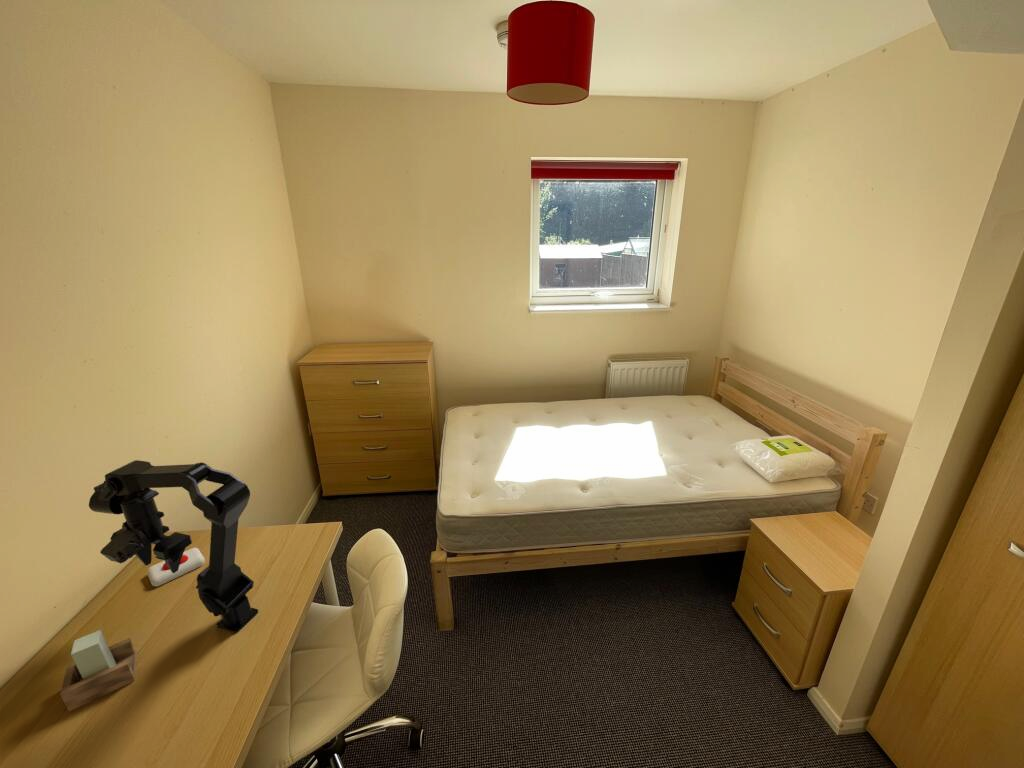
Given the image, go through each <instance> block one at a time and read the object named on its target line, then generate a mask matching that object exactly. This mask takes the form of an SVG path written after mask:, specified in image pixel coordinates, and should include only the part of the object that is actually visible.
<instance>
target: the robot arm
mask: <svg viewBox="0 0 1024 768" xmlns="http://www.w3.org/2000/svg"><path fill="white" fill-rule="evenodd" d="M104 479H105V480H104V481H103V483H100V484H98V485H95V486H94V487H93V491H94V492H93V493H92V495H91V496H90V498H89V501H88V507H89V509H90V510H91V511H92V512H95V513H100V514H101V513H102V514H110V515H112V514H113V515H122V514H123V517H124V519H125V521H124V522H123V523H122V524H121V528H120V529H118V530H117V531H115V532H113V533H112V534H111V537H110V538H109V539H110V541H109V542H108V543H107V544H106V545H105V546H103V548H101V550H100V552H99V553H100V554H101V555H103V556H104V557H105V558H107V559H108V560H109V561H111V562H115V563H119V564H123V563H125V562H127V561H128V560H129V559H131V558H133V557H134V556H135V557H137V559H138V560H140V562H142V563H143V564H144V565H145V566H149V565H151V563H152V557H153V556H152V555H153V554H154V555H155V557H154V558H155V559H158V560H162V561H164V560H165V562H166V564H167V565H168V567H169V569H170V570H171V572H172V573H175V572H177V571H178V569H179V565H180V562H181V559H182V555H183V553H184V552H185V550H186V548H187V547H189V546H190V545H191V544H193V540H192V537H191V535H190V534H186V533H182V532H178V531H177V532H176V531H175V532H173V533H171V534H170V535H166V534H165V533H167V532H169V531H170V527H169V526H166V525H164V523H163V521H162V518H163V517H164V516H165V513H164V512H163V511H160V510H158V506H157V504H156V502H155V498H156V497H157V496H159V494H160V493H159V491H157V490H156V489H162V488H166V489H167V488H183V489H184V490H186V491H187V493H188V495H189V498H190V501H191V503H192V505H193V506H194V507H195V508H197V509H199V511H201V512H203V517H204V518H205V519H206V520H208V521H209V522H210V523H211V524H210V525H211V529H210V543H209V545H210V546H209V559H208V560H209V561H208V562H209V563H208V566H207V567H205V568H204V569H203V570H202V571H201V572H200V573H198V574H197V576H196V582H197V583H196V584H197V585H196V587H195V589H198V590H197V593H198V598H199V600H200V601H201V603H202V604H203V605H204V607H205V608H206V610H207V611H208V612H209V613H212V614H213V616H214V617H218V616H220V618H221V619H220V621H218V622H217V624H216V627H217V628H220V629H222V630H225V631H229V632H232V633H235V634H236V633H238V632H239V631H240V630H241V629H242V628H244V627H245V626H246V624H248V623H249V622H250V621H251V619H252V618H254V617H255V616H256V615H257V614H258V613H259V609H257V608H254V607H251V604H250V601H249V597H248V596H247V594H248V593H249V591H251V590H252V589H253V588H254V584H255V583H254V580H252V579H251V578H250V577H249V576H247V574H245V573H244V572H243V571H242V568H241V566H240V565H238V564H236V562H235V560H236V552H237V551H236V549H237V540H238V528H239V527H238V526H239V519H240V517H241V516H242V514H243V512H244V511H245V510H246V508H247V506H248V504H249V501H250V498H251V491H250V489H249V487H248V485H247V484H246V483H245V482H244V481H243V480H241V479H239V478H238V477H237V476H235V475H234V473H231V472H228V471H224V470H220V469H214V468H212V467H211V466H210V465H208V464H207V463H205V462H196V463H194V464H192V463H191V464H171V465H168V464H167V465H152V464H151V462H150V461H145V460H139V459H138V460H137V459H136V460H133V461H130V462H128V463H126V464H124V465H122V466H121V467H118V468H116V469H114V470H112V471H110V472H108V473H106V474H105V475H104ZM203 481H208V482H210V483H215V484H220V485H222V486H220V487H218V488H217V489H215V490H214V491H212V492H211V493H209V494H207V495H204V494H203V493H201V491H200V487H199V484H200V483H203ZM153 545H154V547H152V546H153ZM152 548H153V549H152Z"/></svg>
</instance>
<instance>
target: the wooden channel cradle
mask: <svg viewBox="0 0 1024 768" xmlns="http://www.w3.org/2000/svg"><path fill="white" fill-rule="evenodd" d="M134 646H135V645H134V644H133V641H132V640H131V638H130V637H128V638H126V639H124V640H121V641H119V642H117V643H115V644H112V645H110V646H108V647H109V649H110V651H111V653H112V655H113V658H114V660H115V662H116V665H115V666H113V667H111V668H109V669H106V670H104V671H102V672H100V673H98V674H95V675H93V676H91V677H89V678H87V679H84V680H83V678H82V676H81V674H80V672H79V670H78V668H77V666H76V664H75V662H74V661H72V662H71V663H68V664H67V665H66V670H65V674H64V677H63V682H62V686H61V690H60V694H59V695H60V697H61V700H62V701H63V703H64V705H65V707H66V709H67V710H68V712H69V713H70V712H72V711H74V710H76V709H78V708H80V707H83V706H84V705H86V704H89V703H91V702H93V701H95V700H97V699H99V698H101V697H103V696H106V695H108V694H109V693H112V692H114V691H116V690H118V689H121V688H122V687H124V686H126V685H128V684H131V683H134V681H135V678H136V677H135V676H136V668H137V666H136V665H137V651H136V649H135V647H134Z"/></svg>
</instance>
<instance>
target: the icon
mask: <svg viewBox="0 0 1024 768" xmlns="http://www.w3.org/2000/svg"><path fill="white" fill-rule="evenodd" d="M205 562H206V560H205V557H204V555H203V554H202V553H201V551H200V549H199V548H197V547H192V548H190V549H188V550H186V551H185V550H184V553H183V555H182V559H181V562H180V565H179V569H178V571H177V572H175V573H172V572H171V570H170V569H169V567H168V565H167V564H166V562H165V560H162V561H160V562H158V563H157V564H153V565H152V566H150V567H148V569H147V572H146V575H147V576H148V579H149V581H150V583H151V586H153V587H160V586H162V585H165V584H166V583H168V582H171V581H172V580H175V579H177V578H179V577H181V576H183V575H185V574H187V573H190V572H192V571H193V570H195V569H199V568H200V567H202V566H203V565H204V564H205Z"/></svg>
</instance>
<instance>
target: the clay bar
mask: <svg viewBox="0 0 1024 768" xmlns="http://www.w3.org/2000/svg"><path fill="white" fill-rule="evenodd" d="M109 647H110V646H109V645H108V643H107V641H106V638H105V636H104V634H103V632H102V629H99V630H97V631H94V632H91V633H89V634H86V635H84V636H82V637H79V638H77V639H75V640H74V641H73V645H72V648H71V653H70V656H71V658H72V659H73V662H75V664H76V666H77V668H78V670H79V672H80V674H81V676H82V678H83V680H84V679H87V678H89V677H91V676H93V675H95V674H98V673H100V672H102V671H104V670H106V669H109V668H111V667H113V666H115V665H116V662H115V660H114V658H113V655H112V653H111V651H110V649H109Z"/></svg>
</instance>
